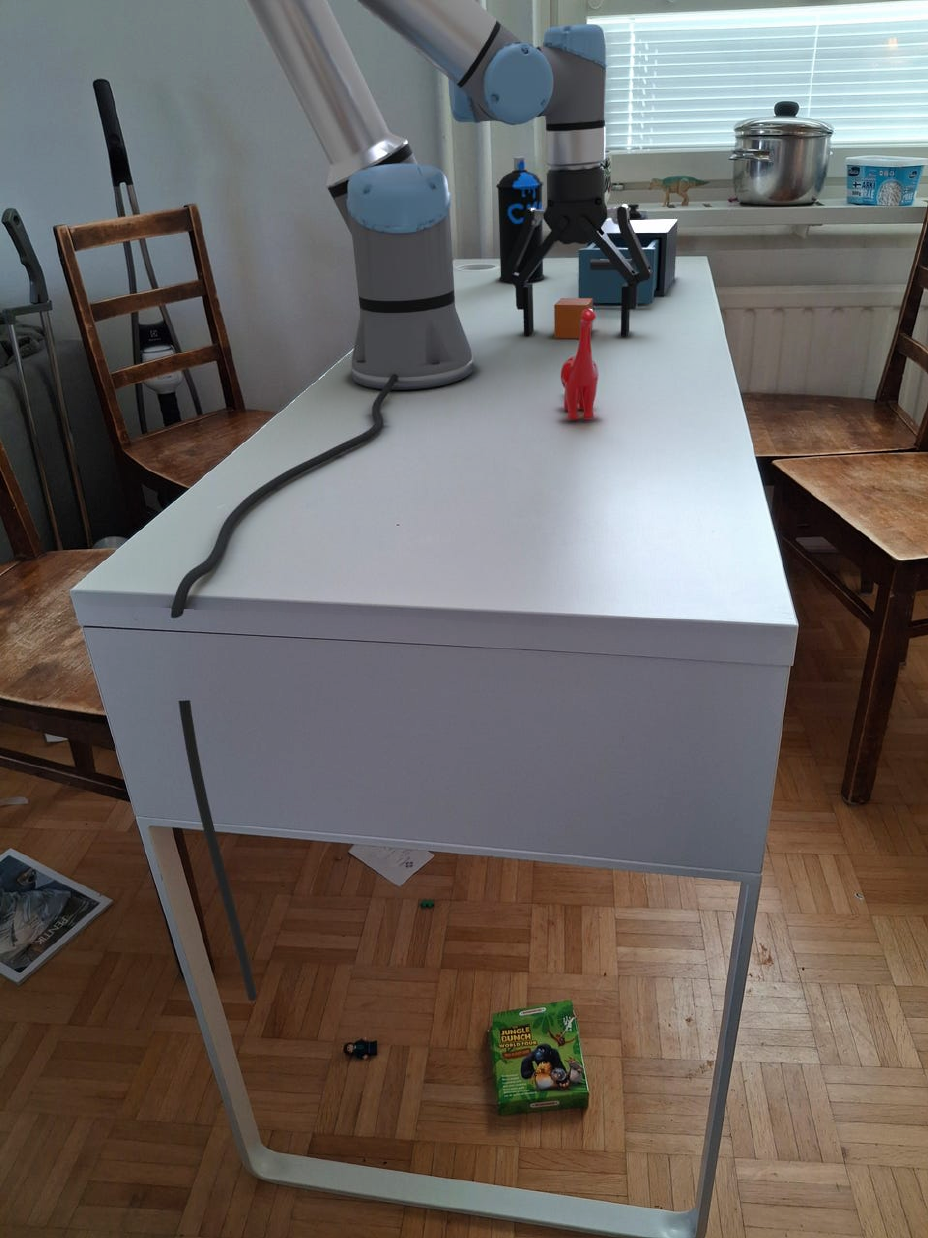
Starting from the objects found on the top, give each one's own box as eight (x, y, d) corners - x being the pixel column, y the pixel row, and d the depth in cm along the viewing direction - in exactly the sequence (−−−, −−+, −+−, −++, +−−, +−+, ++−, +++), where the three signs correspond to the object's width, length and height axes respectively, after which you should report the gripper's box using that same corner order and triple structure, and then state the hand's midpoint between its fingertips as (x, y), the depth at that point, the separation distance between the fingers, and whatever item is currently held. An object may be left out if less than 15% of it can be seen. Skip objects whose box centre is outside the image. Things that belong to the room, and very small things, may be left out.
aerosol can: (491, 278, 172) (487, 157, 162) (531, 273, 174) (529, 154, 165) (512, 285, 165) (509, 159, 155) (552, 279, 168) (552, 155, 158)
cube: (586, 338, 129) (586, 304, 126) (554, 338, 130) (554, 304, 128) (592, 330, 132) (592, 298, 130) (561, 330, 134) (561, 297, 131)
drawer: (647, 310, 138) (650, 254, 134) (571, 309, 141) (571, 254, 137) (663, 285, 153) (665, 234, 149) (594, 285, 156) (595, 235, 152)
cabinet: (664, 295, 150) (667, 231, 145) (586, 295, 154) (587, 233, 149) (674, 278, 162) (677, 219, 157) (602, 278, 166) (603, 220, 161)
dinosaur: (587, 394, 106) (589, 280, 100) (608, 438, 93) (610, 310, 87) (553, 396, 106) (552, 283, 100) (568, 440, 93) (568, 312, 87)
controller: (618, 262, 179) (620, 206, 174) (626, 252, 189) (628, 198, 184) (641, 262, 178) (643, 205, 173) (647, 251, 188) (650, 197, 183)
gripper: (677, 159, 120) (669, 327, 130) (490, 167, 127) (497, 326, 138) (670, 164, 114) (663, 340, 124) (474, 173, 121) (483, 338, 132)
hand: (576, 333), depth 131 cm, fingers open, 13 cm apart
